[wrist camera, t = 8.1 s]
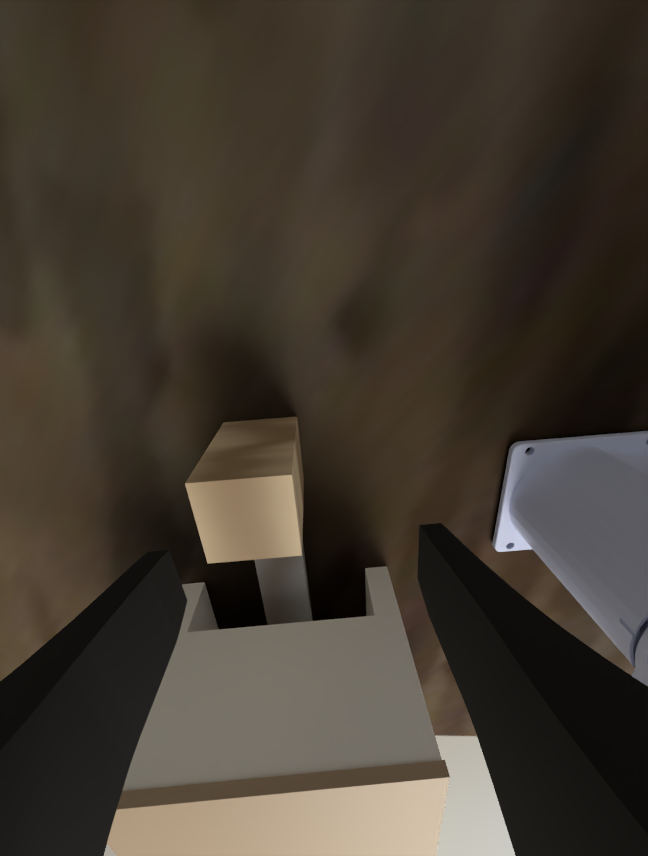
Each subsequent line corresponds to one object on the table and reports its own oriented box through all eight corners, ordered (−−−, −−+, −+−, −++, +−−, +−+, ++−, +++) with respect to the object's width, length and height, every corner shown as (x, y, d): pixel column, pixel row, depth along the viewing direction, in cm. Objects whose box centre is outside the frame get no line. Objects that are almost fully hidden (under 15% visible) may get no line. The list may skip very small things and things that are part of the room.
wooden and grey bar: (297, 416, 18) (291, 474, 12) (322, 651, 26) (326, 750, 20) (223, 422, 18) (184, 483, 12) (272, 655, 26) (262, 756, 20)
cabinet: (388, 565, 22) (449, 777, 13) (386, 658, 26) (432, 873, 17) (180, 583, 22) (81, 812, 12) (211, 674, 26) (155, 901, 16)
